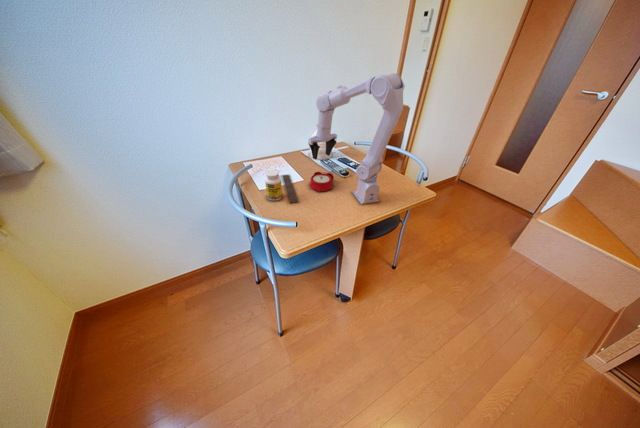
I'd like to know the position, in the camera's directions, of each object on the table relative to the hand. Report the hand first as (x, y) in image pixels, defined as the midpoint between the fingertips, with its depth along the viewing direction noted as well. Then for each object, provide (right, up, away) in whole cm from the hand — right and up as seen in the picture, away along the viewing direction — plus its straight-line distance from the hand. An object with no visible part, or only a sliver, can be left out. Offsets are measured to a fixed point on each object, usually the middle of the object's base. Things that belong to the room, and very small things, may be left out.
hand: (321, 156), depth 100 cm
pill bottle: (-19, -19, -9) cm, 29 cm away
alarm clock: (0, -13, +1) cm, 13 cm away
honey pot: (0, +9, +29) cm, 30 cm away
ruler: (-14, -15, -3) cm, 21 cm away
